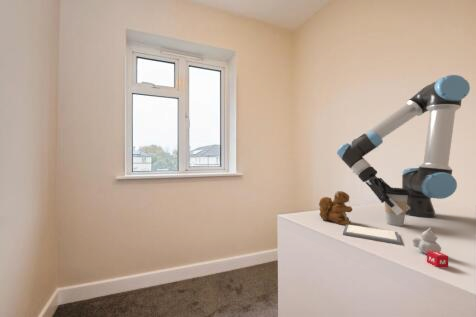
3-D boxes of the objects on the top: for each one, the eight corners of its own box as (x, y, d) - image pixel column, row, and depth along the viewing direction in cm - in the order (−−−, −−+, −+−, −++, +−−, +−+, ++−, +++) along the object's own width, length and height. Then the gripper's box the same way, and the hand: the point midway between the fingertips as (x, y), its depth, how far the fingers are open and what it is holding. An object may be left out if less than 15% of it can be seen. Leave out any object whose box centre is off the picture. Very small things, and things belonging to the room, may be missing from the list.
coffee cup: (400, 221, 101) (401, 187, 101) (414, 228, 92) (415, 190, 92) (377, 220, 102) (378, 186, 102) (389, 226, 93) (390, 189, 93)
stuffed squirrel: (350, 226, 92) (351, 193, 92) (314, 220, 100) (315, 190, 100) (353, 221, 101) (354, 191, 101) (320, 216, 108) (320, 188, 108)
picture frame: (397, 234, 84) (397, 231, 84) (401, 244, 73) (401, 241, 73) (346, 226, 92) (346, 223, 92) (342, 234, 82) (343, 231, 82)
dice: (448, 267, 58) (448, 256, 58) (436, 267, 58) (437, 256, 58) (437, 262, 61) (437, 251, 61) (426, 262, 61) (426, 251, 61)
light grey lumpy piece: (440, 259, 63) (441, 230, 63) (410, 252, 67) (411, 225, 67) (441, 254, 67) (442, 226, 67) (412, 247, 71) (413, 221, 71)
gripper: (367, 175, 116) (404, 213, 104) (347, 177, 102) (387, 220, 90) (379, 165, 112) (419, 203, 100) (360, 165, 98) (404, 209, 86)
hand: (404, 211), depth 95 cm, fingers closed on coffee cup, 9 cm apart
